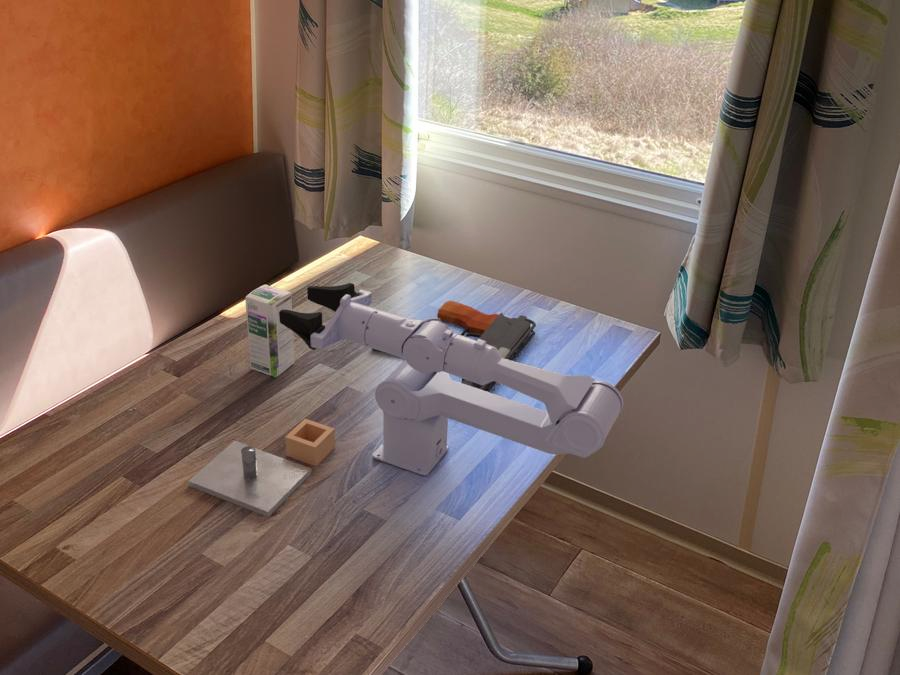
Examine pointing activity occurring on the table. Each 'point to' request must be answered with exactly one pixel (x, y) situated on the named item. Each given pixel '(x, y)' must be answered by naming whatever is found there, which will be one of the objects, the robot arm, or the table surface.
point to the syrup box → (269, 330)
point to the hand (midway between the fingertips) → (294, 304)
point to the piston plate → (250, 478)
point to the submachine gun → (489, 331)
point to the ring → (310, 442)
